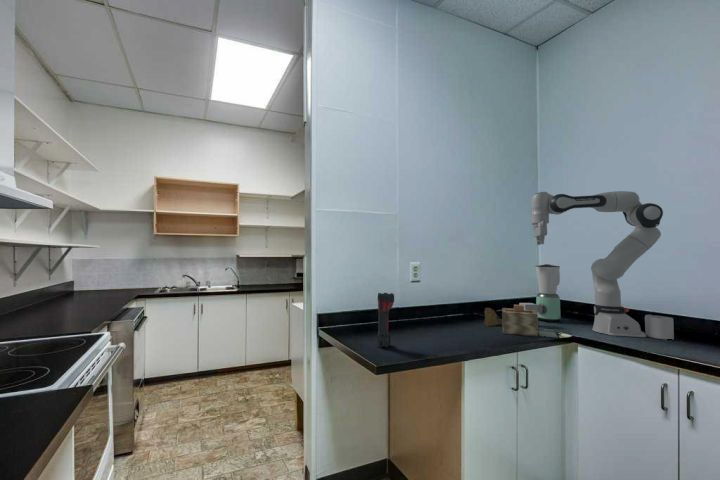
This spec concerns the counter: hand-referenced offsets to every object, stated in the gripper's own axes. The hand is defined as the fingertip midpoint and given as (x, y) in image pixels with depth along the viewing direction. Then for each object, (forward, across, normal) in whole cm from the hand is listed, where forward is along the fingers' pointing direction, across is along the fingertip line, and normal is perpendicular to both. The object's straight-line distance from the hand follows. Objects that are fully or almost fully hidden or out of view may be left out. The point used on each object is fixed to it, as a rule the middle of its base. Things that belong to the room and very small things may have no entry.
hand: (540, 244), depth 189 cm
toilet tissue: (+47, -4, -52) cm, 70 cm away
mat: (+47, -20, 0) cm, 51 cm away
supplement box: (+47, +1, +6) cm, 48 cm away
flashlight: (+47, -70, +73) cm, 111 cm away
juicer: (+47, +23, -8) cm, 53 cm away
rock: (+47, -4, +26) cm, 54 cm away
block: (+41, -19, +14) cm, 47 cm away
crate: (+47, -19, +14) cm, 52 cm away
